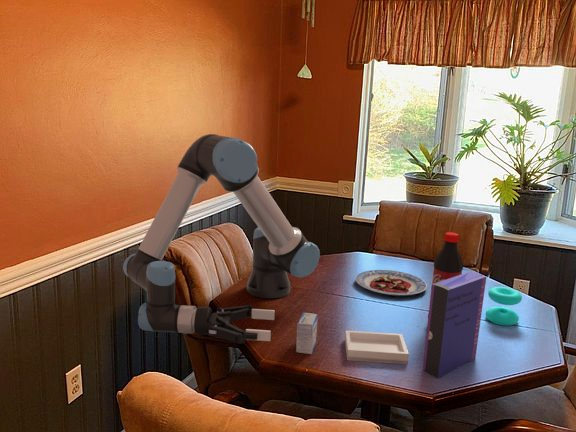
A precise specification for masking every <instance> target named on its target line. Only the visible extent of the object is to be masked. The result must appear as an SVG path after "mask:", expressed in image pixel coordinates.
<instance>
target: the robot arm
mask: <svg viewBox="0 0 576 432" xmlns="http://www.w3.org/2000/svg"><path fill="white" fill-rule="evenodd" d="M176 170H177V172H178V173H177V175H176V177H175V178H174V180H173V182H172V184H171V186H170V188H169V190H168V192H167V194H166V196H165V198H164V200H163V202H162V204H161V205H160V207H159V209H158V210H157V212H156V214H155V217H154V218H153V220H152V222H151V224H150V226H149V228H148V229H147V232H146V233H145V236H144V237H143V239H142V241H141V244H140V245H139V246H138V249H137V250H136V252H135V253H133V254H130V255H129V256H128V257H127V258H126V259H125V260H124V262H123V265H122V270H123V273H124V274H125V276H126V277H127V278H129V280H130V281H132V282H133V283H135V284H137V285H138V286H139V287H141V289H143V290H144V291H146V302H144V303H142V304H141V305H140V307H139V308H138V309H139V310H138V317H137V323H138V326H139V328H140V329H141V330H143V331H147V332H148V331H150V332H155V333H157V332H159V333H160V332H163V333H177V334H178V333H181V334H184V335H187V334H194V333H195V334H196V335H203V336H204V335H208V336H209V337H215V338H218V339H223V340H226V341H228V342H231V343H236V344H239V345H240V344H245V343H246V341H259V342H260V341H261V342H271V330H266V329H253V328H246V329H245V330H243V329H242V328H240V327H237V326H236V325H233V322H237V321H239V320H240V321H241V320H244V319H248V318H251V319H252V320H253V319H254V320H269V321H275V309H265V308H264V309H261V308H253V305H252V304H245V305H238V306H230V307H228V306H227V307H217V308H216V312H213V309H212V308H211V307H210V306H198V307H197V306H195V305H184V304H183V305H179V304H176V278H177V277H176V272H175V271H176V270H175V265H174V264H173V263H172V262H170V261H166V260H163V258H164V256H165V255H166V253H167V252H168V249H169V247H170V245H171V243H172V241H173V239H174V238H175V236H176V234H177V232H178V229H179V228H180V226H181V224H182V223H183V220H184V219H185V216H186V215H187V213H188V212H189V209H190V207H191V205H192V204H193V202H194V199H195V197H196V196H197V194H198V192H199V190H200V189H201V187H202V185H205V184H207V182H208V180H209V179H210V177H211V176H214V177H215V178H216V180H217V181H218V182H219V184H220V185H221V186H222V188H223V189H224V190H225V191H226V192H228V193H233V194H234V195H235V197H236V198H237V199H238V201H239V202H240V203H241V205H242V207H243V208H244V209H245V210H246V212H247V213H248V215H249V216H250V218H251V219H252V221H253V223H255V224H256V226H257V227H256V228H255V229H254V230H253V238H252V240H253V241H252V269H251V272H250V275H249V277H248V280H247V283H246V292H247V293H248V294H250V295H251V296H253V297H257V298H260V299H278V298H283V297H286V296H287V295H289V294H290V293H291V283H290V280H289V279H290V278H289V276H288V274H291V276H293V277H297V278H306V277H308V276H310V275H312V273H313V272H314V271H315V270H316V268H317V266H318V265H319V260H320V256H321V253H320V249H319V247H318V245H316V244H315V243H313V242H311V241H308V240H307V239H306V237H305V236H304V234H303V233H302V231H301V230H300V228H299V227H295V226H292V225H291V224H290V222H289V220H288V219H287V218H286V216H285V215H284V213H283V212H282V210H281V208H280V207H279V206H278V204H277V202H276V201H275V200H274V198H273V196H272V195H271V193H270V192H269V191H268V189H267V188H266V186H265V185H264V183H263V181H262V180H261V179H260V177H259V176H258V175H259V171H260V168H259V166H258V155H257V152H256V151H255V149H254V147H253V146H252V145H251V144H249V143H248V142H246V140H245V141H244V140H242V139H240V138H237V137H232V136H231V137H230V136H229V137H228V136H224V135H218V134H214V133H213V134H212V133H210V134H205V135H202V136H201V137H199V138H197V139H196V140H195V141H194V142H193V143H192V144H191V145H190V146H189V148H188V149H187V150H186V151H185V153H184V154H183V156H182V157H181V160H180V161H179V164H178V165H177V168H176Z"/></svg>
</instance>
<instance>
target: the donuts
mask: <svg viewBox="0 0 576 432" xmlns="http://www.w3.org/2000/svg"><path fill="white" fill-rule="evenodd" d="M488 297H489V299H490V300H491V301H493V302H494V303H497V304H499V305H504V306H496V305H495V306H491V307H488V309H487V310H486V311H485V317H486V319H487V320H488V321H490V322H491V323H492V324H496V325H500V326H513V325H516V324H518V322H519V320H520V319H519V318H520V317H519V315H518V313H517V312H516V311H515V310H513V309H511V308H509V307H506V306H516V305H518V304H520V303H521V302H522V299H523V296H522V294H521V293H520V292H519V291H518V290H516V289H513V288H511V287H506V286H494V287H491V288H490V289H489V290H488Z"/></svg>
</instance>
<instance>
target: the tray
mask: <svg viewBox="0 0 576 432" xmlns="http://www.w3.org/2000/svg"><path fill="white" fill-rule="evenodd" d="M344 334H345V336H344V339H345V340H344V344H345V353H346V360H347V361H350V362H351V361H353V362H366V363H367V362H368V363H385V364H395V365H396V364H397V365H398V364H399V365H408V364H409V357H410V356H409V355H410V353H409V351H408V347H407V344H406V342H405V339H404V336H403V333H391V332H389V333H388V332H379V331H378V332H376V331H375V332H374V331H359V330H345V333H344Z"/></svg>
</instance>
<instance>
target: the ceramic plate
mask: <svg viewBox="0 0 576 432" xmlns="http://www.w3.org/2000/svg"><path fill="white" fill-rule="evenodd" d="M355 282H356V283H357V284H358V285H359V286H360V287H362V288H364V289H367V290H368V291H371V292H375V293H377V294H378V293H379V294H381V295H382V294H383V295H389V296H391V295H392V296H413V295H417V294H421V293H423V292H424V291H426V290H427V288H428V284H427V282H426V281H425V280H423V279H422V278H421V277H419V276H417V275H413V274H411V273H408V272H404V271H398V270H391V269H390V270H389V269H371V270H366V271H362V272H360V273H357V275H355Z"/></svg>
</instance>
